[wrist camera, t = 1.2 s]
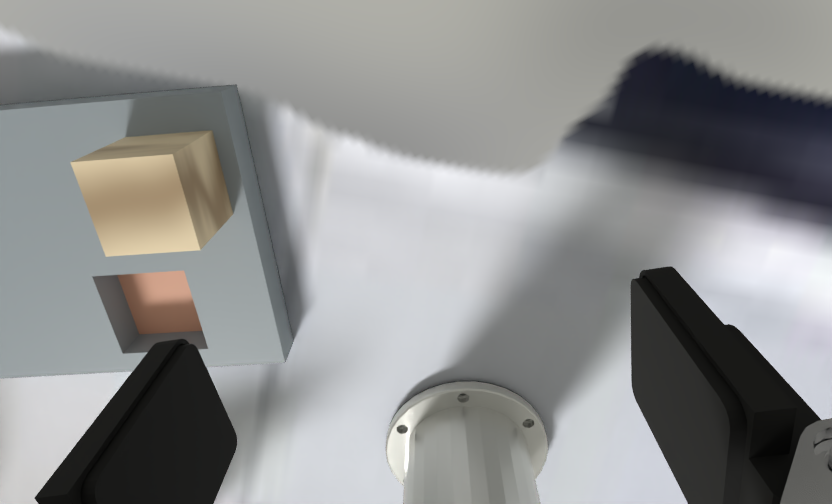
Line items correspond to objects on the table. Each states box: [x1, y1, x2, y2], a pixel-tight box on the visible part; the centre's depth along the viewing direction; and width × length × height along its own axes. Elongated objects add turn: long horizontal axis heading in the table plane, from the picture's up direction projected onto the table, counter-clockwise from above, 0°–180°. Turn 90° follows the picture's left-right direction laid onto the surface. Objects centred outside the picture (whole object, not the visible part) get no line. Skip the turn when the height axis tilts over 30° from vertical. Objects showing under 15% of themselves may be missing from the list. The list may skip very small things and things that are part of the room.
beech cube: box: [70, 130, 233, 257], centre depth 28 cm, size 5×5×5 cm
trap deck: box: [0, 85, 294, 378], centre depth 33 cm, size 18×29×4 cm, turn 95°
